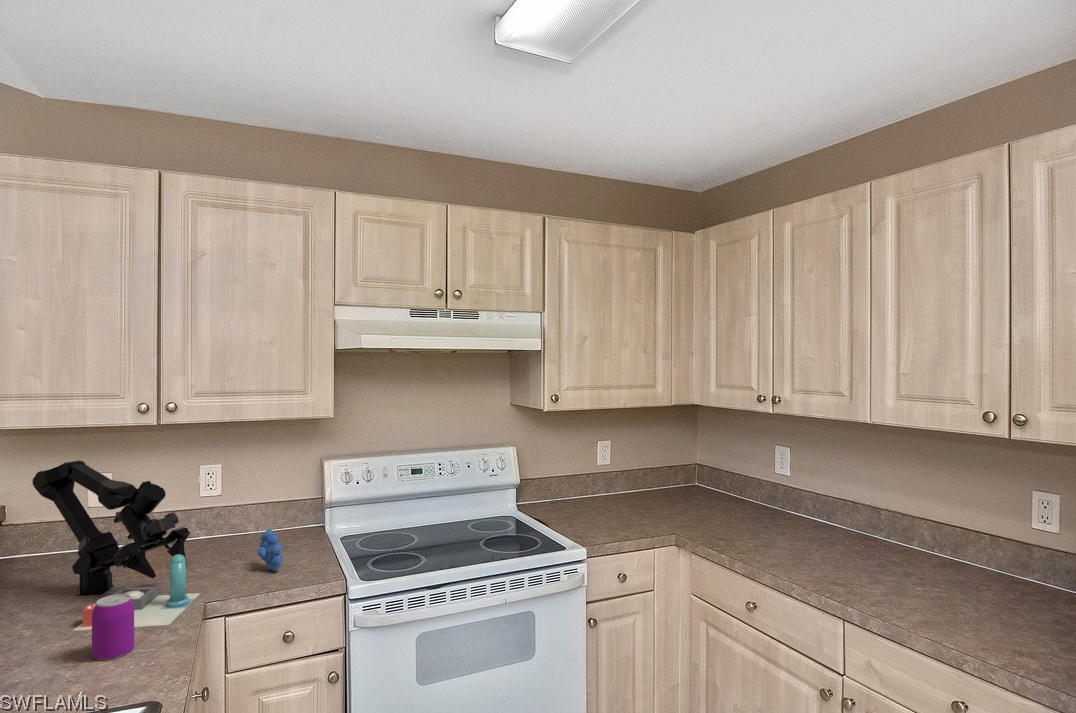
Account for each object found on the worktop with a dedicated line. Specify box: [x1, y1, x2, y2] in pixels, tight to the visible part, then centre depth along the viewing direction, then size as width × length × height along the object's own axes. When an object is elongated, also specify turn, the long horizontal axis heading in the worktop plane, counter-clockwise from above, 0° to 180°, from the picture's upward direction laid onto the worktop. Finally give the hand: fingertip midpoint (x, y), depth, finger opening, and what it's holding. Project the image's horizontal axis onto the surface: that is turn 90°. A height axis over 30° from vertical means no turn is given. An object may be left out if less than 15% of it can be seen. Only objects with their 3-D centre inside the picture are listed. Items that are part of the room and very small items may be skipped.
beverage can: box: [91, 593, 135, 661], centre depth 137 cm, size 8×8×12 cm
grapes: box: [256, 528, 284, 572], centre depth 189 cm, size 12×7×12 cm, turn 48°
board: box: [72, 592, 201, 632], centre depth 159 cm, size 21×20×1 cm
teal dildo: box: [167, 554, 189, 608], centre depth 163 cm, size 5×5×13 cm
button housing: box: [112, 586, 159, 610], centre depth 163 cm, size 9×9×2 cm
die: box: [82, 602, 96, 627], centre depth 152 cm, size 4×4×4 cm
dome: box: [124, 591, 144, 599], centre depth 163 cm, size 6×6×2 cm
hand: (170, 571), depth 163 cm, fingers open, 9 cm apart
